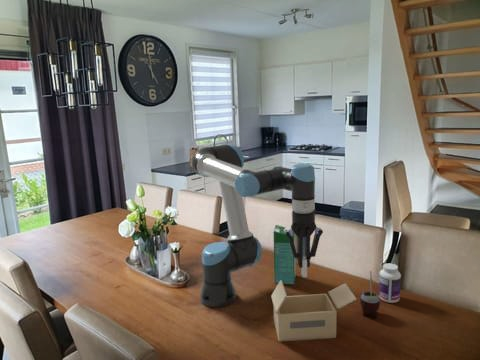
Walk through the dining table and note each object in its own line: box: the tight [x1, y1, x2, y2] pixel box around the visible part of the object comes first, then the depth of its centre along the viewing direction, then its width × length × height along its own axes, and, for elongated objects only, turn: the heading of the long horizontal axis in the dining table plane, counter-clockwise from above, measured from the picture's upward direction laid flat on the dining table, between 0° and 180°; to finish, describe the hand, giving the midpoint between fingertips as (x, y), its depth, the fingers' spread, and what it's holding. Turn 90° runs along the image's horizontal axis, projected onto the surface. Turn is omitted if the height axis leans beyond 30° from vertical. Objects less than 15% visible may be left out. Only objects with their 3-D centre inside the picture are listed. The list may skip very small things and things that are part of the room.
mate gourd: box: [359, 270, 381, 319], centre depth 136 cm, size 8×8×15 cm
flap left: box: [270, 280, 288, 313], centre depth 127 cm, size 1×11×7 cm, turn 5°
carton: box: [273, 293, 338, 342], centre depth 129 cm, size 20×12×10 cm, turn 93°
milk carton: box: [273, 224, 297, 285], centre depth 164 cm, size 9×9×25 cm
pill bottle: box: [378, 262, 402, 304], centre depth 146 cm, size 8×8×14 cm
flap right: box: [327, 282, 357, 310], centre depth 128 cm, size 1×11×7 cm
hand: (304, 275), depth 125 cm, fingers closed
